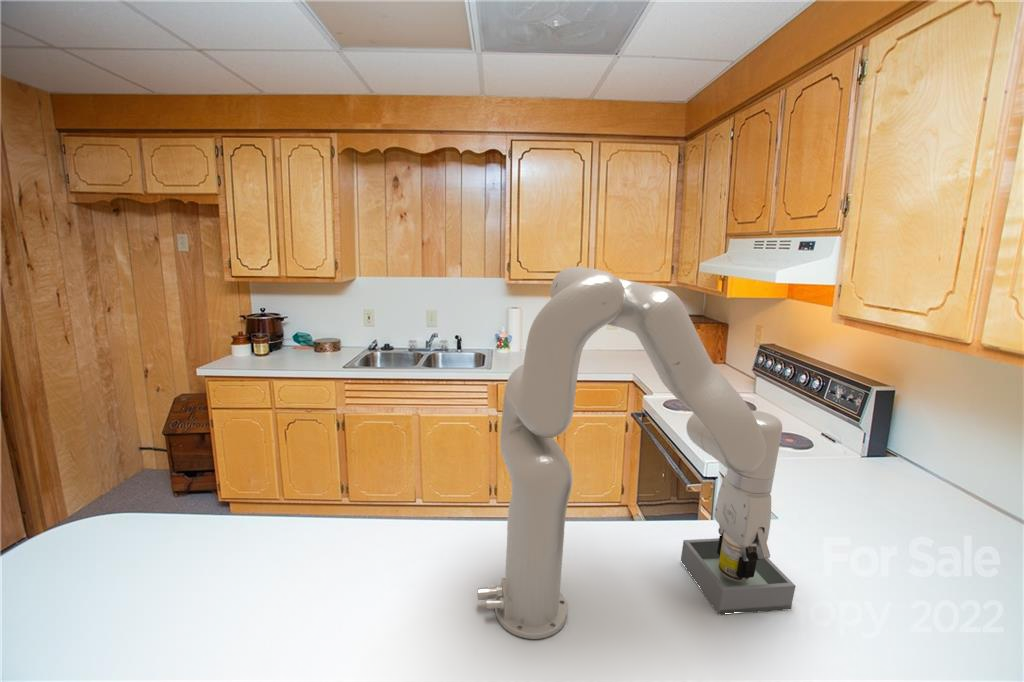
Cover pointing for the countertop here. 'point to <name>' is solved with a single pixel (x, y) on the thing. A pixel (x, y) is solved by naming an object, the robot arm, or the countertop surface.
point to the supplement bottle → (730, 558)
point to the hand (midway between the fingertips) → (734, 564)
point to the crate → (732, 596)
